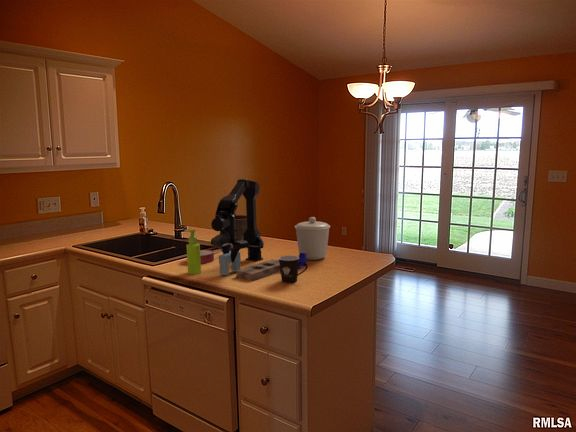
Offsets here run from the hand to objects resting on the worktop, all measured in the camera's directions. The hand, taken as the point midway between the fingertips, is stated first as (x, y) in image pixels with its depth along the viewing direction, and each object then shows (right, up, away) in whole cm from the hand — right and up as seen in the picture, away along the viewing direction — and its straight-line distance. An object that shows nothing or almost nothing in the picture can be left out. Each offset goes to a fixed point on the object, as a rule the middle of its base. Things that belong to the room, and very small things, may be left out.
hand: (229, 261), depth 195 cm
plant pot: (-3, +4, +64) cm, 64 cm away
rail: (+15, -5, +2) cm, 16 cm away
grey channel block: (0, -5, +1) cm, 5 cm away
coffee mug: (+28, -7, -13) cm, 31 cm away
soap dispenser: (-17, -6, +3) cm, 18 cm away
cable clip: (+30, -4, +8) cm, 32 cm away
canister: (+39, -1, +27) cm, 47 cm away
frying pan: (-12, -1, +32) cm, 34 cm away
